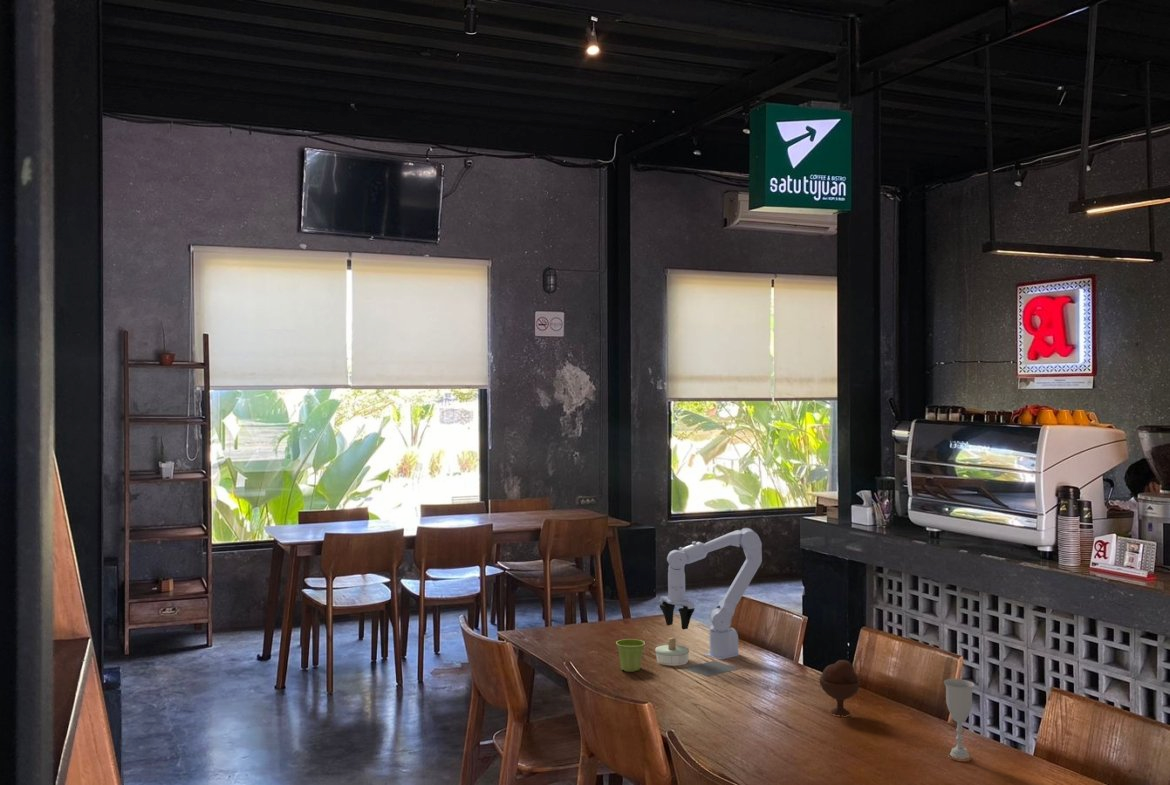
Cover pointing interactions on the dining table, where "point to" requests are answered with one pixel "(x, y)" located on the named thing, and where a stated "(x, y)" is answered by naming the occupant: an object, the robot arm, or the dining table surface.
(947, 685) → the chalice
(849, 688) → the ice cream bowl
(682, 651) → the lid
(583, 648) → the dining table surface
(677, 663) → the bowl
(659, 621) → the dining table surface
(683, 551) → the robot arm
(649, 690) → the dining table surface
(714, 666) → the mat
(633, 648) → the plant pot
